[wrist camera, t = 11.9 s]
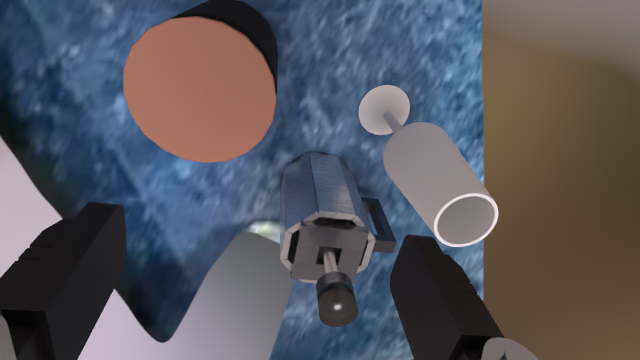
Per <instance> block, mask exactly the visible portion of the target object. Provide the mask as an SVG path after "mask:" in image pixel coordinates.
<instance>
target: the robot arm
mask: <svg viewBox="0 0 640 360" xmlns="http://www.w3.org/2000/svg"><path fill="white" fill-rule="evenodd" d="M126 257H127V242H126V228H125V213H124V208H123V206H122V205H119V204H109V203H99V202H89V203H87V205H86V206H85V207H84V208H83V209H82V211H81V212H80V213H79V214H78V215H77V217H76V218H75V219H74V220H73V219H62V220H61V221H59V222H57V223H55V224H53V225H52V226H50V227H48V228H47V229H45V230H43V231H42V232H41V233H40V235H39V236H38V237H37V238H36V239H35V240H34V241H33V242H32V243H31V244H30V248H27V249H26V250H25V251H24V253H22V254H21V256H20V257H19V260H18V261H15V262H14V263H13V264H12V266H11V267H10V268H9V269H8V270H7V271H6V272H5V273H4V274H3V276H2V277H1V278H0V360H77V359H78V357H79V355H80V353H81V352H82V350H83V347H84V346H85V344H86V342H87V340H88V338H89V336H90V334H91V332H92V330H93V328H94V326H95V324H96V322H97V321H98V319H99V317H100V315H101V313H102V311H103V309H104V307H105V305H106V303H107V301H108V299H109V297H110V295H111V294H112V292H113V290H114V288H115V286H116V284H117V282H118V280H119V278H120V276H121V274H122V272H123V269H124V266H125V263H126ZM390 289H391V293H392V296H393V299H394V302H395V305H396V308H397V311H398V314H399V317H400V320H401V323H402V325H403V328H404V331H405V334H406V337H407V340H408V343H409V346H410V349H411V351H412V354H413V357H414V360H538V359H537V358H536V357H535V356H534V355H533V354H532V353H531V352H530V351H529V350H528V349H526V348H525V347H523V346H522V345H520V344H518V343H517V342H514V341H512V340H509V339H506V338H505V337H504V336H503V334H502V333H501V331H500V329H499V328H498V326H497V324H496V323H495V321H494V319H493V318H492V316H491V315H490V313H489V311H488V310H487V308H486V306H485V305H484V303H483V301H482V300H481V298H480V297H479V296H477V292H476V290H475V288H474V287H473V285H472V284H470V280H469V279H468V277H467V275H466V274H465V272H464V270H463V269H462V267H461V266H460V265H458V264H457V263H456V262H455V261H454V260H453V259H452V258H451V257H450V256H449V255H444V254H443V252H442V251H441V249H440V247H439V245H438V244H437V242H436V240H435V239H434V238H433V237H428V236H418V235H407V236H406V237H405V238H404V240H403V243H402V246H401V248H400V251H399V254H398V256H397V259H396V262H395V264H394V267H393V270H392V273H391V277H390Z"/></svg>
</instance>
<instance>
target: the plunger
mask: <svg viewBox="0 0 640 360" xmlns="http://www.w3.org/2000/svg"><path fill="white" fill-rule="evenodd" d="M338 220H339V219H336V218H327V217H318V218H317V219H315V220H313V221H314V222H323V223H335V222H336V221H338ZM322 252H323V259H324V265H325V272H326V274H324V275H323V276H321V277H320V278H319V279H318V281H317V283H316V290H317V299H318V308H319V316H320V319H321V321H322V322H323V323H324V324H326V325H328V326H332V327H341V326H345V325H347V324H349V323H351V322H352V321H354V320H355V318H356V317H357V315H358V308H357V303H356V299H355V295H354V290H353V286H352V282H351V279H350V277H349V276H348V275H347V274H345V273H342V272H338V270H337V265H336V260H335V255H334V250H333V248H332V247H322Z"/></svg>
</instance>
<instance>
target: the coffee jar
mask: <svg viewBox="0 0 640 360" xmlns="http://www.w3.org/2000/svg"><path fill="white" fill-rule="evenodd" d="M277 67H278V54H277V45H276V39H275V37H274V34H273V32H272V30H271V28H270V25H269V24H268V23H267V22H266V20H265V19H264V18H263V17H262V16H261V14H260V13H259V12H258V11H256V10H255V9H253V8H252V7H250V6H248V5H247V4H245V3H244V2H240V1H236V0H209V1H207V2H205V3H203V4H201V5H198V6H196V7H194V8H192V9H190V10H187V11H185V12H183V13H181V14H179V15H177V16H174V17H172V18H170V19H168V20H166V21H164V22H162V23H160V24H158V25H156V26H154V27H151V28H149V29H148V30H147V31H146V32H145V33H144V34H143V35H142V36H141V37H140V38H139V39H138V41H137V42H136V43H135V44H134V45H133V46H132V48H131V50H130V53H129V56H128V58H127V61H126V64H125V66H124V95H125V98H126V101H127V104H128V107H129V110H130V113H131V116H132V117H133V118H134V120H135V121H136V123H137V124H138V125H139V127H140V128H141V130H142V131H143V132H144V134H145V135H146V136H147V137H148V138H150V139H151V140H152V141H153V142H155V143H156V144H157V145H158V146H159V147H161V148H162V149H163V150H165V151H167V152H170V153H172V154H174V155H176V156H178V157H181V158H183V159H186V160H192V161H198V162H203V163H211V162H221V161H228V160H231V159H233V158H235V157H238V156H240V155H242V154H245V153H247V152H248V151H249V150H250V149H252V148H253V147H254V146H255V145H256V144H257V143H259V142H260V141H261V140H262V139H263V137H264V135H265V134H266V132H267V130H268V129H269V127H270V125H271V123H272V122H273V117H274V112H275V107H276V102H277V100H276V94H277Z"/></svg>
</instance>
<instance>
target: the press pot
mask: <svg viewBox="0 0 640 360" xmlns="http://www.w3.org/2000/svg"><path fill="white" fill-rule="evenodd" d="M366 212H368V213H370V215H371V217H372V220H373V223H374V225H375V228H376V231H377V234H378V235H374V234H373V231H372V228H371V225H370V222H369V219H368V217H367V214H366ZM318 217H327V218H336V219H339V220H338V221H336V222H335V223H323V222H314V221H313V220H315V219H317V218H318ZM395 245H396V239H395V237H394V235H393V232H392V230H391V228H390V225H389V223H388V221H387V218H386V216H385V214H384V211H383V209H382V207H381V205H380V202H379V200H378V199H371V198H362V197H360V194H359V191H358V189H357V186H356V183H355V180H354V177H353V175H352V174H351V172H350V171H349V170H348V168H347V166H346V165H345V164H344V163H343V162H342V160H341V159H340V157H339V156H337V155H333V154H326V153H318V152H311V151H309V153H308V152H307V153H305V154H304V155H302V156H301V157H299V158H297V159H295V160H294V161H293V162H291V163H290V164H288V165H287V166H285V168H284V171H283V176H282V181H281V189H280V260H281V262H282V263H283V264H284V265H285V266H286V267H287V268H288V269H289V270H290V271H291V272H290V273H291V279H299V280H300V281H303V282H308V283H317V281H318V279H319V278H320V277H321V276H323V275H324V274H326V272H325V265H324V259H323V252H322V247H332V248H333V250H334V255H335V260H336V265H337V270H338V272H342V273H345V274H347V275H348V276H349V277H350V279H351V282H352V283H354V280H355V277H356V273H358V272H360V271H362V270H363V269H365V268H366V267H367V265H368V262H369V259H370V256H371V253H372V251H376V252H387V253H393V251H394V248H395Z"/></svg>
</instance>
